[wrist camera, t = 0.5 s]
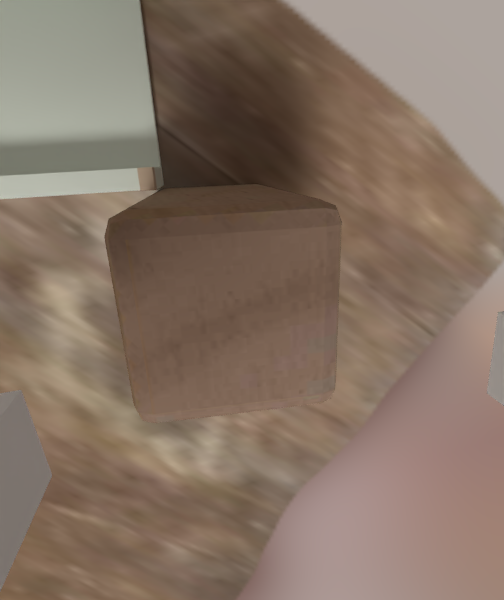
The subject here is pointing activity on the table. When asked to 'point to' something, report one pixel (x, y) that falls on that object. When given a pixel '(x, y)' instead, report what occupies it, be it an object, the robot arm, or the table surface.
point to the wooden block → (226, 299)
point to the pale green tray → (75, 99)
